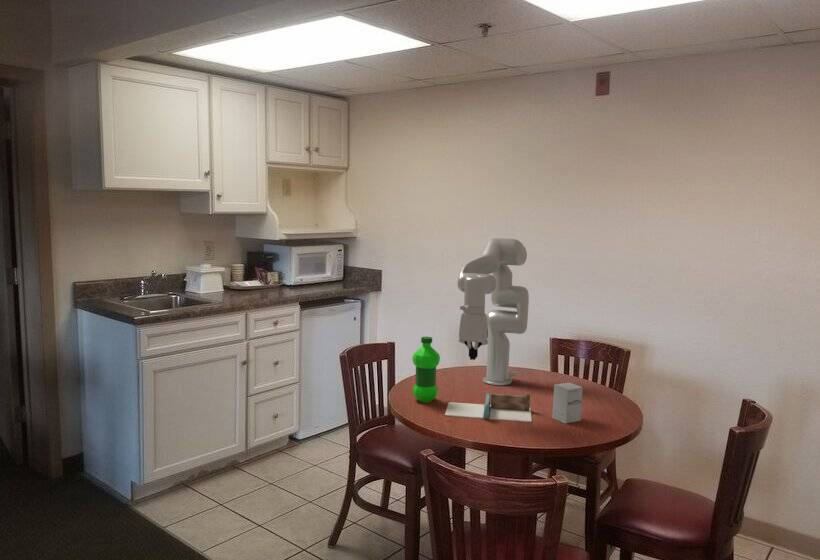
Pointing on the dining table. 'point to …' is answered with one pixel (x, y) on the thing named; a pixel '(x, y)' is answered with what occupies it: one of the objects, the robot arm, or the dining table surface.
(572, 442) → the dining table surface
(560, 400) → the supplement box
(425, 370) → the plastic bottle
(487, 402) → the teal bar
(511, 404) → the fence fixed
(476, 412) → the card
